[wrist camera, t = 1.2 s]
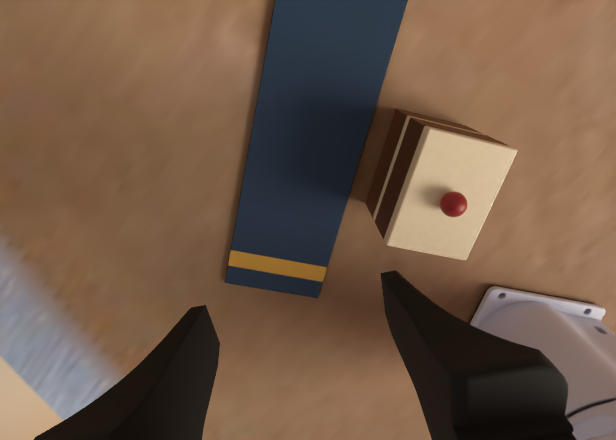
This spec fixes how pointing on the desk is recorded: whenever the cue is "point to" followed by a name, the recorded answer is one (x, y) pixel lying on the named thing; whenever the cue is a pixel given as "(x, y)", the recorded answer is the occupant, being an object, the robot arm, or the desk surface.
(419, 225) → the cake slice
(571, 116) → the desk surface
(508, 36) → the desk surface
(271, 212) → the cloth
